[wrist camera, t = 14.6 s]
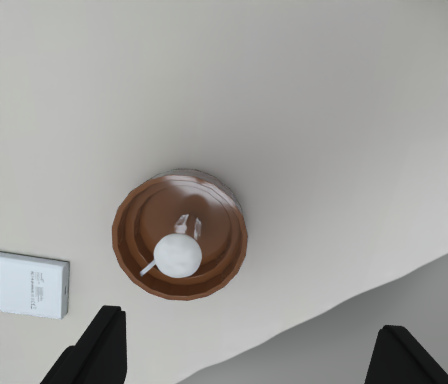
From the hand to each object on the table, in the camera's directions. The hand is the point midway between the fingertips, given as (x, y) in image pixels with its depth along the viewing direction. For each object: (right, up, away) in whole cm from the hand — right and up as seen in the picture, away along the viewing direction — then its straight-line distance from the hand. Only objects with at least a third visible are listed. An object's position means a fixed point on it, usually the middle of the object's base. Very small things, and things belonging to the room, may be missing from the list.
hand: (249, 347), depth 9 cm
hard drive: (-28, -6, +25) cm, 38 cm away
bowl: (-6, +1, +23) cm, 24 cm away
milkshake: (-6, +1, +23) cm, 23 cm away
